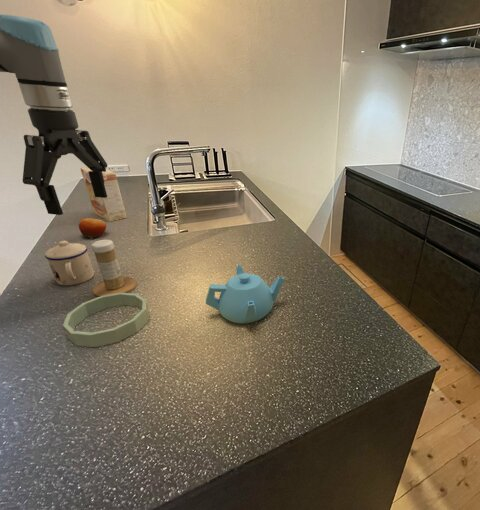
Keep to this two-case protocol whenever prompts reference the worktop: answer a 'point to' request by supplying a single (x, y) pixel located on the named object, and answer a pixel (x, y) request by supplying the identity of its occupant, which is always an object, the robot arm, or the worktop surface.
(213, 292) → the teapot
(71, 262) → the teacup with lid
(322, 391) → the worktop surface
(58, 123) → the robot arm
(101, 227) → the fruit
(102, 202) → the coffeecake box
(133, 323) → the green ring
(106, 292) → the coaster
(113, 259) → the sprinkles bottle
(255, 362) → the worktop surface
